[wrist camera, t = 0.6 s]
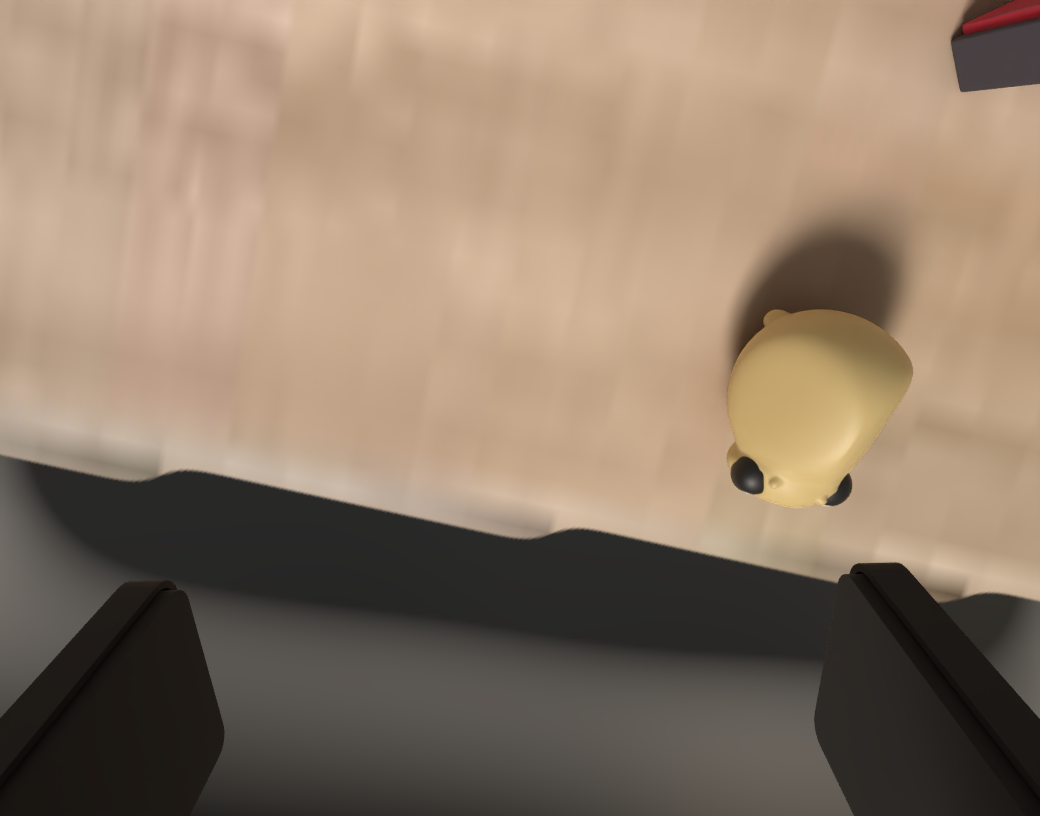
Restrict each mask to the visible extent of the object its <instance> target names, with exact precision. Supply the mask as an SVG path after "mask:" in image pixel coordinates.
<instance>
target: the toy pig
mask: <svg viewBox="0 0 1040 816" xmlns="http://www.w3.org/2000/svg"><path fill="white" fill-rule="evenodd" d="M763 323H764V326H765V327H764V328H763V329H762V330H760V331H759V332H758V333H757V334H756V335H755V336H754V337H753V338H752V339H751V340H750V341H749V342H748V343H747V345H746V346H745V347H744V349H743V350H742V352H741V353H740V355H739V357H738V358H737V360H736V363H735V365H734V367H733V370H732V373H731V376H730V380H729V384H728V391H727V411H728V416H729V420H730V424H731V427H732V431H733V435H734V438H735V442H734V444H733V445H732V446H731V447H730V448H729V450H728V453H727V463H728V466H729V468H730V471H731V479H732V481H733V483H734V485H735V486H736V487H737V488H738V489H739V490H741V491H743V492H745V493H747V494H753V495H756V496H758V497H759V498H761V499H763V500H766V501H768V502H771V503H774V504H777V505H781V506H785V507H790V508H804V507H808V506H811V505H814V504H818V505H820V506H835V505H839V504H841V503H842V502H844V501H845V500H846V499H847V498H848V497H849V495H850V493H851V490H852V479H851V476H850V474H849V472H850V471H851V470H852V469H853V468H854V466H855V465H856V464H857V463H858V462H859V460H860V459H861V458H862V457H863V455H864V454H865V453H866V451H867V450H868V449H869V447H870V446H871V445H872V443H873V442H874V441H875V439H876V438H877V436H878V435H879V433H880V432H881V430H882V429H883V427H884V426H885V424H886V423H887V421H888V420H889V418H890V417H891V415H892V414H893V412H894V411H895V409H896V408H897V406H898V405H899V403H900V402H901V400H902V398H903V397H904V395H905V393H906V392H907V390H908V388H909V386H910V383H911V380H912V376H913V367H912V363H911V361H910V359H909V357H908V355H907V354H906V352H905V351H904V349H903V348H902V347H901V346H900V345H899V343H898V342H897V341H896V340H895V339H894V338H893V337H891V336H890V335H889V334H888V333H887V332H885V331H884V330H883V329H881V328H880V327H878V326H877V325H875V324H873V323H872V322H870V321H868V320H866V319H864V318H861V317H859V316H856V315H853V314H850V313H846V312H842V311H836V310H824V309H818V310H806V311H800V312H796V313H792V314H791V313H788V312H786V311H783V310H772V311H770V312H768V313H767V314H766V315H765V317H764V320H763Z"/></svg>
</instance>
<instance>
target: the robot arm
mask: <svg viewBox="0 0 1040 816" xmlns="http://www.w3.org/2000/svg"><path fill="white" fill-rule="evenodd" d="M814 721H815V730H816V735H817V738H818V741H819V744H820V746H821V748H822V750H823V752H824V754H825V756H826V758H827V761H828V763H829V765H830V767H831V769H832V771H833V773H834V775H835V777H836V779H837V781H838V783H839V786H840V788H841V790H842V791H843V794H844V796H845V798H846V800H847V802H848V804H849V806H850V808H851V810H852V812H853V814H854V816H1040V719H1039V718H1038V717H1037V715H1036V714H1035V713H1034V712H1033V711H1032V710H1031V709H1030V708H1029V706H1028V705H1027V704H1026V703H1025V702H1024V701H1023V700H1022V699H1021V697H1020V696H1019V695H1018V694H1017V693H1016V692H1015V690H1014V689H1013V688H1012V687H1011V686H1010V685H1009V684H1008V683H1007V681H1006V680H1005V679H1004V678H1003V677H1002V676H1001V675H1000V674H999V672H998V671H997V670H996V669H995V668H994V667H993V666H992V665H991V663H990V662H989V661H988V660H987V659H986V658H985V656H984V655H983V654H982V653H981V652H980V651H979V650H978V649H977V648H976V646H975V645H974V644H973V643H972V642H971V641H970V639H969V638H968V637H967V636H966V635H965V634H964V633H963V632H962V630H961V629H960V628H959V627H958V626H957V625H956V624H955V622H954V621H953V620H952V619H951V618H950V617H949V616H948V615H947V614H946V612H945V611H944V610H943V609H942V608H941V607H940V605H939V604H938V603H937V602H936V601H935V600H934V599H933V597H932V596H931V595H930V594H929V593H928V592H927V591H926V590H925V588H924V587H923V586H922V585H921V584H920V583H919V582H918V580H917V579H916V578H915V577H914V576H913V575H912V574H911V573H910V571H909V570H908V569H907V568H906V567H905V566H903V565H902V564H900V563H858V564H855V565H854V566H853V567H852V569H851V571H850V574H844V575H842V576H841V577H840V578H839V581H838V585H837V591H836V597H835V602H834V608H833V614H832V619H831V625H830V631H829V636H828V642H827V648H826V654H825V659H824V664H823V670H822V676H821V681H820V687H819V693H818V698H817V704H816V710H815V717H814ZM223 742H224V726H223V722H222V718H221V714H220V711H219V707H218V703H217V700H216V696H215V693H214V689H213V685H212V682H211V679H210V675H209V671H208V668H207V664H206V660H205V657H204V653H203V649H202V646H201V642H200V639H199V635H198V631H197V628H196V624H195V621H194V617H193V614H192V610H191V606H190V602H189V599H188V596H187V594H186V593H185V592H184V591H182V590H177V588H176V586H175V585H174V584H173V582H171V581H168V580H158V581H157V580H155V581H154V580H153V581H129V582H125V583H124V584H123V585H121V586H120V587H119V588H118V589H117V590H116V592H114V593H113V595H112V596H111V597H110V598H109V599H108V600H107V601H106V602H105V603H104V605H103V606H102V607H101V608H100V609H99V610H98V611H97V612H96V614H94V616H93V617H92V618H91V619H90V620H89V621H88V622H87V623H86V624H85V625H84V627H83V628H82V629H81V630H80V631H79V632H78V633H77V634H76V635H75V637H74V638H73V639H72V640H71V641H70V642H69V643H68V644H67V645H66V646H65V648H64V649H63V650H62V651H61V652H60V653H59V654H58V656H56V658H55V659H54V660H53V661H52V662H51V663H50V664H49V665H48V666H47V667H46V669H45V670H44V671H43V672H42V673H41V674H40V675H39V676H38V677H37V678H36V680H35V681H34V682H33V683H32V684H31V685H30V686H29V687H28V688H27V689H26V691H25V692H24V693H23V694H22V695H21V696H20V697H19V698H18V699H17V701H16V702H15V703H14V704H13V705H12V706H11V707H10V708H9V709H8V710H7V712H6V713H5V714H4V715H3V716H2V717H1V718H0V816H190V814H191V812H192V810H193V808H194V806H195V804H196V802H197V800H198V798H199V796H200V794H201V792H202V790H203V788H204V785H205V784H206V782H207V780H208V778H209V776H210V774H211V772H212V770H213V768H214V766H215V764H216V762H217V760H218V758H219V755H220V753H221V751H222V747H223Z"/></svg>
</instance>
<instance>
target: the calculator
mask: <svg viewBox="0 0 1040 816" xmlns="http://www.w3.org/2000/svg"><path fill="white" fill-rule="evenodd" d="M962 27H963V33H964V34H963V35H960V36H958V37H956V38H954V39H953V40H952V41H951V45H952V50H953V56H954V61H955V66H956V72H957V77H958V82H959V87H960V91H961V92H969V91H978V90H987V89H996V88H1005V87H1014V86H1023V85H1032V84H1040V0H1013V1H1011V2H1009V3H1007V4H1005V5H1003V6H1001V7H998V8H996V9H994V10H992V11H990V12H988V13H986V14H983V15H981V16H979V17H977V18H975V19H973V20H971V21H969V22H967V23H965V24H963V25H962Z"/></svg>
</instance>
